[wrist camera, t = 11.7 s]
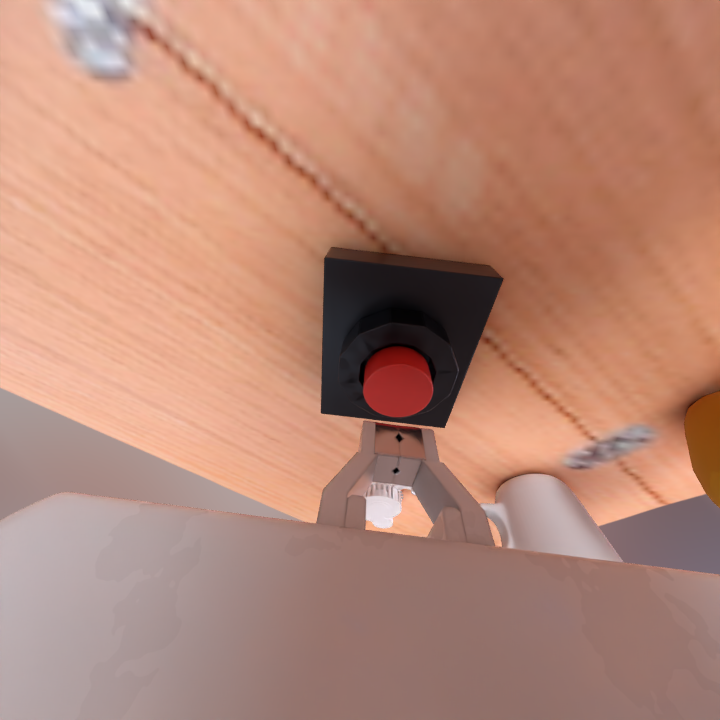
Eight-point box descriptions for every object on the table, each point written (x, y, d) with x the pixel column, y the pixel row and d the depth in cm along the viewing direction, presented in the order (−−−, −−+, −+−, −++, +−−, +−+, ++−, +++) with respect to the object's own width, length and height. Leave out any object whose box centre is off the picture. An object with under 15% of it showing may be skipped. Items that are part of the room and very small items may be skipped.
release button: (368, 341, 15) (366, 360, 13) (436, 349, 15) (441, 369, 13) (361, 392, 17) (359, 413, 16) (421, 399, 17) (424, 421, 16)
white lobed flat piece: (419, 514, 31) (422, 535, 30) (343, 508, 32) (340, 528, 30) (434, 462, 26) (438, 484, 24) (342, 456, 26) (339, 477, 25)
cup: (446, 501, 30) (464, 597, 23) (470, 454, 25) (501, 557, 18) (548, 513, 29) (596, 613, 23) (591, 468, 25) (665, 576, 18)
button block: (330, 246, 16) (317, 267, 12) (490, 265, 16) (518, 291, 12) (325, 393, 22) (315, 433, 19) (439, 406, 22) (449, 449, 19)
